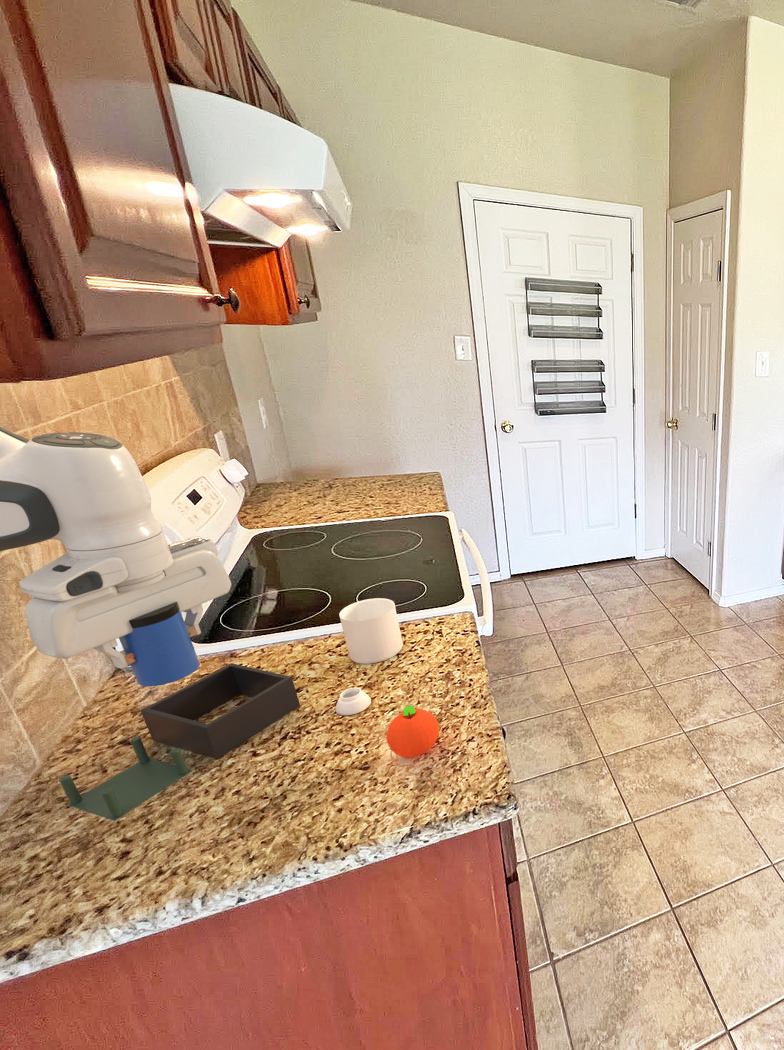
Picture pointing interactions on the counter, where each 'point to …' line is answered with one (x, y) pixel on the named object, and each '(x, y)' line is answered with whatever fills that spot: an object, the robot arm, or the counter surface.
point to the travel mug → (160, 647)
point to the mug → (371, 630)
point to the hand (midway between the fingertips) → (160, 650)
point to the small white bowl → (352, 702)
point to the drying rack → (128, 784)
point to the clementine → (412, 732)
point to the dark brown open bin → (215, 739)
